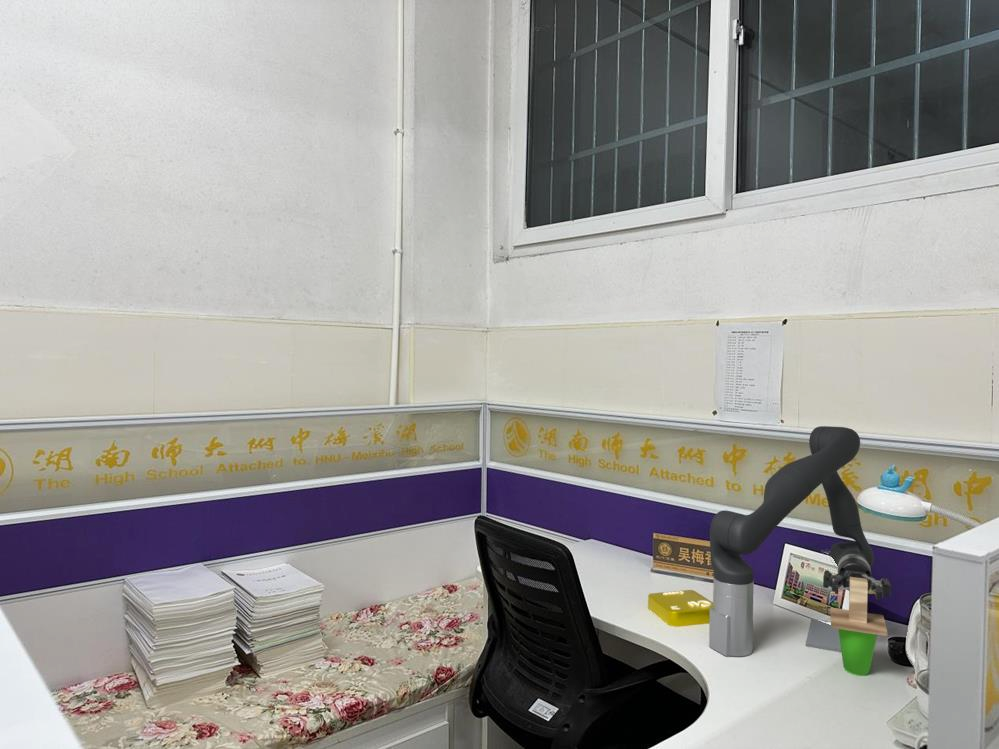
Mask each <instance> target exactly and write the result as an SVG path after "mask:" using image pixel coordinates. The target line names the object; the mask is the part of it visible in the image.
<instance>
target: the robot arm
mask: <svg viewBox="0 0 999 749" xmlns="http://www.w3.org/2000/svg"><path fill="white" fill-rule="evenodd" d="M808 441H809V442H808V443H809V450H810V454H809V455H807V456H804V457H802V458H799V459H797V460H794V461H791V462H789V463H786V464H785V465H783V466H781V468H779V469H778V470H777V471H775V473H774V474H772V476H771V477H770V478H768V479H767V481H766V483H765V486H764V490H763V502H762V503H761V505H760V506H759V507H758V508H756V509H755V510H754V511H752V512H751V513H749V514H743V513H739V512H735V511H731V510H728V509H727V510H726V509H724V510H720V511H718V512H717V513H715V515H714V516H713V518H712V520H711V522H710V528H709V549H710V550H709V551H710V553H709V555H710V565H711V568H712V571H713V587H712V588H713V590H712V591H713V592H712V594H713V597H712V598H713V599H712V602H713V608H711V609H710V623H709V629H708V630H709V632H708V633H709V634H708V636H709V639H708V647H709V648H711V649H713V650H714V651H716V652H717V653H720V654H721V655H723V656H725V657H747V656H750V655H751V654H753V642H754V641H753V640H754V638H753V637H754V634H753V633H754V632H753V629H754V628H753V627H754V593H755V592H754V589H755V587H754V585H755V584H754V583H755V582H754V581H755V580H754V579H755V578H754V577H755V574H754V573H755V572H754V569H753V568H752V567H751V565H750V564H748V563H747V562H746V561H745V559H743V557H742V555H750V554H753V553H754V552H756V551H757V550H758V549H760V547H761V546H762V545H763V544H764V542H766V540H767V539H768V537H769V536H770V535H771V534H772V532H773V531H774V530H775V529H776V528H777V526H779V524H780V523H781V522H782V521H783V520H785V518H787V517H788V515H789V514H790V513H791V512H793V510H794V509H795V508H797V507H798V506H799V505H801V503H802V502H804V501H805V499H806V498H808V497H809V496H810V495H811V494H812V493H813V491H815V490H816V489H817V488H818V487H819V486H820V485H822V488H823V490H824V493H825V497H826V500H827V504H828V510H829V515H830V520H831V526H832V529H833V533H834V534H835V535H837V536H839V537H842V538H843V537H844V538H848V539H852V540H854V541H845V542H844V541H843V542H842V541H841V542H836V543H833V545H831V547H830V549H829V557H830V558H831V557H832V558H833V559H834V561H835V563H836V564H837V566H838V569H837V570H836V571H837V572H836V573H837V574H832V573H831V572H830V571H829V570H824V573H823V577H822V578H823V580H822V587H823V588H825V589H827V588H831V592H833V593H834V594H835V595H839V590H841V591H845V590H847V591H848V592H849V584H850V577H855V578H863V579H867V582H868V594H869V595H873V594H874V595H875V600H878V601H880V600H881V599H884V595H885V596H887V597H891V596H892V595H891V594H892V593H891V587H892V585H891V583H890V581H889V579H888V578H886V577H883V578H881V579H880V580H878V579H877V580H876V579H875V578H874V577H873V575H872V570H871V567H872V566H873V564H874V563H875V562H874V561H875V555H874V554H875V553H874V551H873V549H872V547H871V546H870V544H869V541H868V540H867V537H866V535H865V533H864V530H863V528H862V522H861V518H860V512H859V511H860V510H859V507H858V504H857V501H856V499H855V497H854V495H853V494H852V492H851V491H850V489H849V488H848V487H847V486H846V484H845V483H844V481H843V479H842V478H841V476H840V474H839V473H838V471H840V469H842V468H843V467H845V466H846V465H847V464H849V463H850V462H851V461H852V460H854V458H855V457H856V456H857V454H858V453H859V450H860V447H861V439H860V436H859V434H858V433H857V431H856V430H854V429H851V428H849V427H845V426H826V425H821V426H817V427H815V428H813V430H812V431H811V433H810V435H809V439H808Z"/></svg>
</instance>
